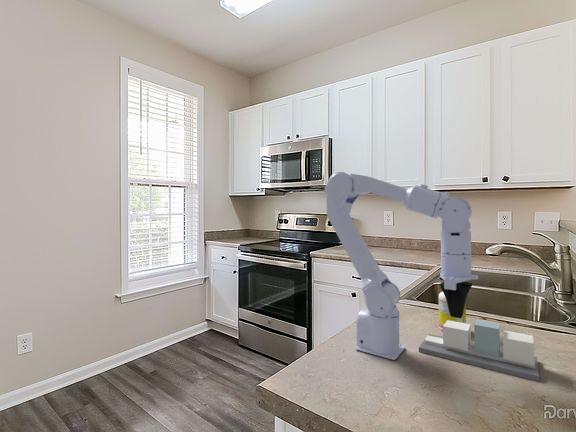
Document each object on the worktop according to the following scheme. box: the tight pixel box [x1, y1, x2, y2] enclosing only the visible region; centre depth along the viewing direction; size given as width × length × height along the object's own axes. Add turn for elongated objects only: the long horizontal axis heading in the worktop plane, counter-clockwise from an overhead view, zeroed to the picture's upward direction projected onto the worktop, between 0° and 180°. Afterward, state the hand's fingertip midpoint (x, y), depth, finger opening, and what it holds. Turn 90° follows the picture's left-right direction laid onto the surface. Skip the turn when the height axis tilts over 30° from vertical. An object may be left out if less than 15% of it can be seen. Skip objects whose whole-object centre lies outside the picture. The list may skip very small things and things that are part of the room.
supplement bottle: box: [438, 291, 467, 332], centre depth 86 cm, size 7×7×13 cm
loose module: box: [473, 319, 501, 357], centre depth 69 cm, size 4×4×6 cm
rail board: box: [418, 320, 540, 383], centre depth 70 cm, size 22×10×6 cm, turn 53°
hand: (456, 316), depth 66 cm, fingers closed
